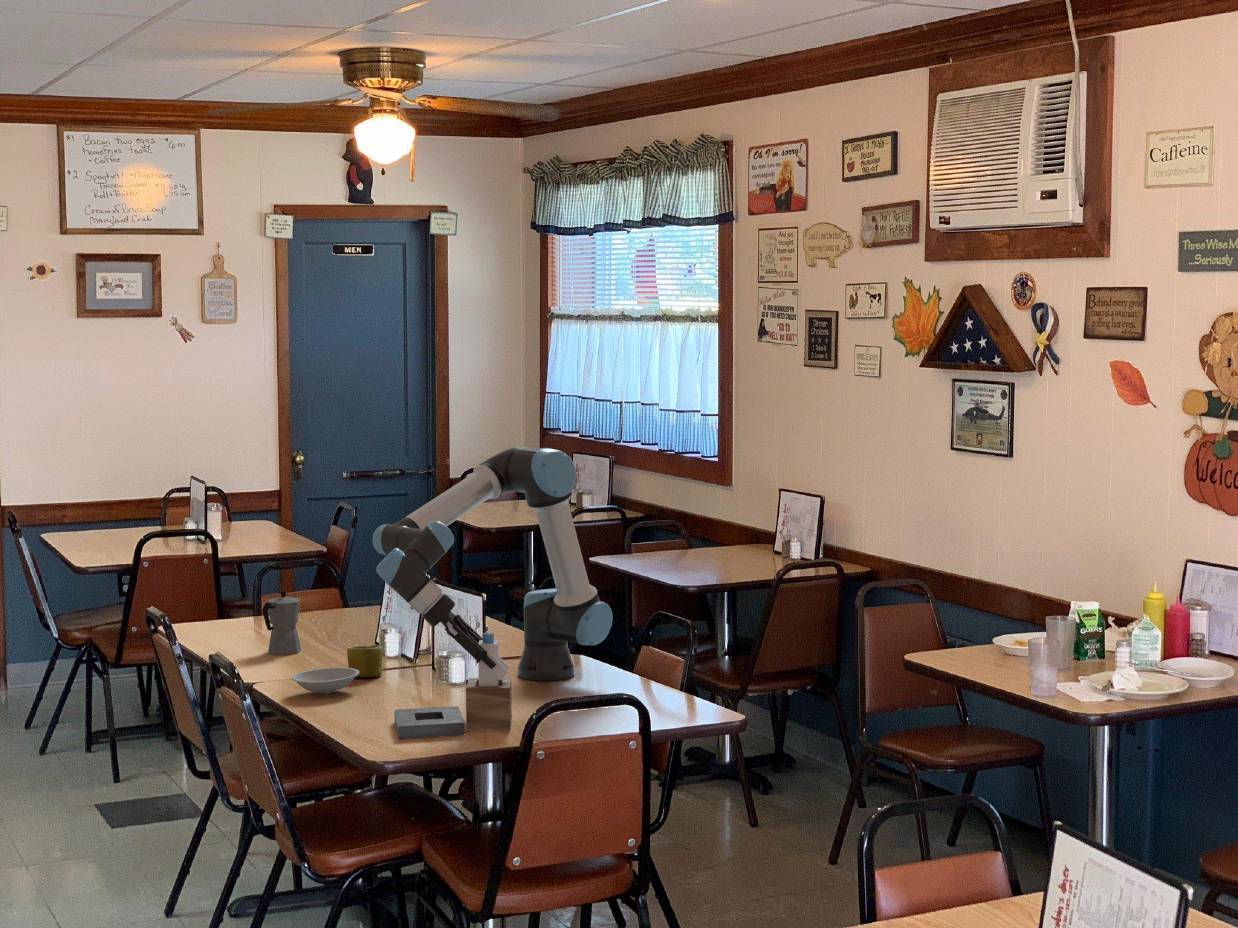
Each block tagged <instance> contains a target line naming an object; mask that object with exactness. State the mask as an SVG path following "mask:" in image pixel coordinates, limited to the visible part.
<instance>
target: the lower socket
mask: <svg viewBox="0 0 1238 928" xmlns="http://www.w3.org/2000/svg"><path fill="white" fill-rule="evenodd" d="M394 725H395V730H396V736H397V735H398V736H397V739H398V740H407V739H406V738H414V739H425V738H424V737H431V738H440V737H439V736H447V737H460V735H464V734H465V735H466V728H465V727H466V722H465V720H464V717H463V715H462V712H461V710H460V707H459V705H457V706H456V705H455V706H454V705H453V706H437V707H436V706H435V707H433V706H432V707H417V708H403V709H402V708H400V709H399V708H398V709H394ZM465 735H464V736H465Z"/></svg>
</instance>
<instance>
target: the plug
mask: <svg viewBox="0 0 1238 928" xmlns="http://www.w3.org/2000/svg"><path fill="white" fill-rule="evenodd" d="M494 634H495V633H493V632H484V633H482V638H483V640H479V643H478V644H479V645H480V646H481V647H482V648H483V649H484V650H485V651H486V652H487V653H488V652H489V653H490V654H491V655H492V656H493V657H494V658H495V659H496V660H497V661H498V656H499V639H494V638H495V635H494ZM477 664H478V666H477V667H478V678H479V686H499V679H498V678H497V677H496V676H495V675H494V674H493V673H492V672H491V671H490V670H489V669H488V668H487V667H486V666H485V665H484V664H483V663H482V662H479V663H477Z"/></svg>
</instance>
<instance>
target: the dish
mask: <svg viewBox="0 0 1238 928" xmlns="http://www.w3.org/2000/svg"><path fill="white" fill-rule="evenodd" d="M358 674H359V671H358V670H356V669H353V668H349V667H338V666H337V667H335V666H334V667H322V668H314V669H309V670H304V671H302V672H298V673H296V674H295V673H294V674H293V675H292V676H291V680H292V681H294V682H296V683H297V684H298V685H299V686H300V687H301V688H303V689H304V690H306V691H308V692H312V693H322V695H329V694H331V692H335V691H339V690H341V689H344V688H345V687H348V685H349V684H350V683H351V682H352V681H353V680H354V679H356V678H355V676H357V675H358Z"/></svg>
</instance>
